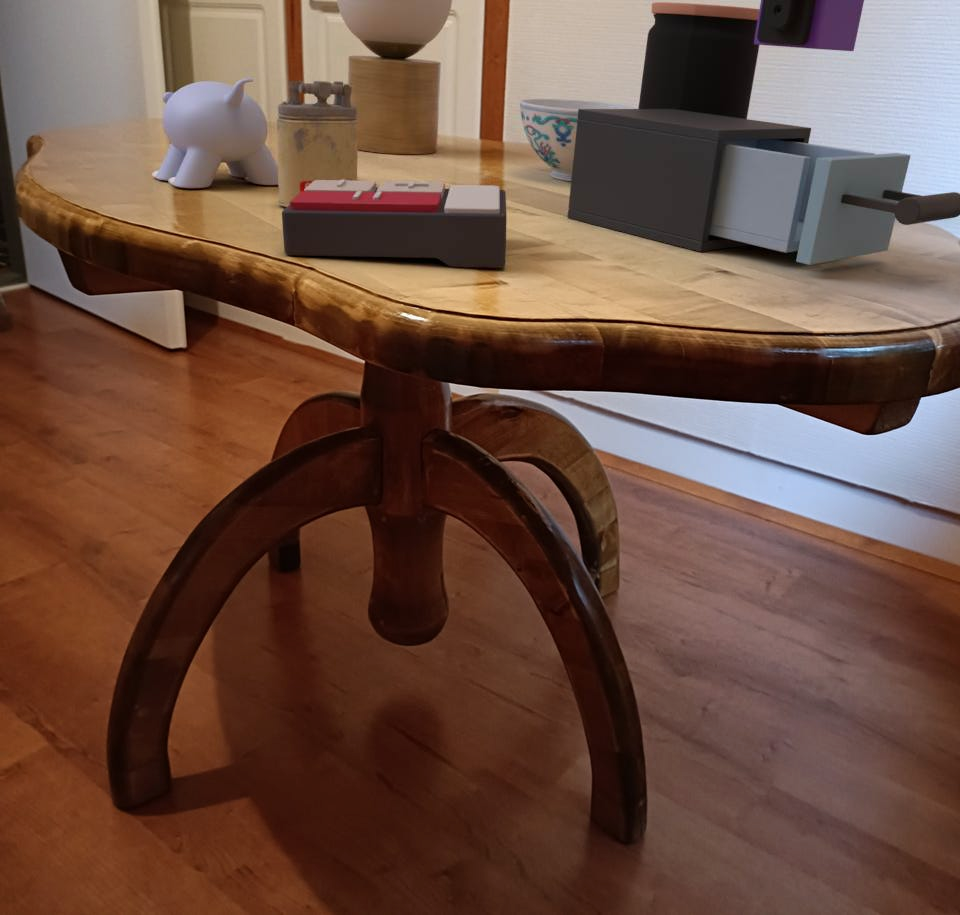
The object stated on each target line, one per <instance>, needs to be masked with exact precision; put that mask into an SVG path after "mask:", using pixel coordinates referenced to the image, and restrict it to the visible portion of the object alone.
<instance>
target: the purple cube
mask: <svg viewBox="0 0 960 915" xmlns="http://www.w3.org/2000/svg"><path fill="white" fill-rule="evenodd" d="M864 3H865V0H815V5H814V10H813V15H812V21H811V26H810V31H809V37H808V40H807V42H806V43H805V44H804V45H791V44H776V43H762V42H759V41H758V39H757V34H758V28H759V22H760V16H761V10H762V4H763V0H760V3H759V8H758V9H759V15H758V21H757V27H756V33H755V39H754V44H755V45H759V46H771V47H785V48H797V49H798V48H799V49H809V50H810V49H811V50H824V51H825V50H828V51H840V52H841V51H842V52H854V51H855V47H856V42H857V36H858V32H859V27H860V23H861V18H862V12H863V7H864Z"/></svg>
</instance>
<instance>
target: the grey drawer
mask: <svg viewBox="0 0 960 915" xmlns="http://www.w3.org/2000/svg"><path fill="white" fill-rule="evenodd" d="M910 159H911V155H910V154H906V153H898V152H892V153H891V152H890V153H877V154H876V153H874V152H867V151H861V150H854V149H847V148H841V147H835V146H828V145H822V144H814V143H801V142H795V141H788V140H781V139H768V140H740V141H724V145H723V151H722V157H721V164H720V170H719V176H718V182H717V188H716V194H715V200H714V206H713V212H712V218H711V225H710V231H709V234H710V235H714V236H718V237H722V238H726V239H731V240H735V241H739V242H743V243H747V244H749V245H752V246H756V247H760V248H765V249H768V250H772V251H776V252H781V253H785V254H787V253H794V252H797V253H796V254H797V255H796V260H795V262H796V263H799V264H804V265H808V266H811V265H817V264H822V263H829V262H834V261H839V260H845V259H849V258H855V257H861V256H865V255H866V256H867V255H872V254H877V253H883V252H886V251H889V247H890V243H891V239H892V234H893V230H894V227H895V222H896V221H897V222H898V223H899V224H900V225H904V226H909V225H916V224H917V225H918V224H922V223H923V224H924V223H929V222H935V221H941V220H948V219H955V218H957V217H959V216H960V192H956V191H953V192H944V193H935V194H927V195H920V194H915V193H909V192H903V190H904V189H903V188H904V184H905V182H906V181H905V180H906V176H907V172H908V168H909V165H910V164H909V163H910Z"/></svg>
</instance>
